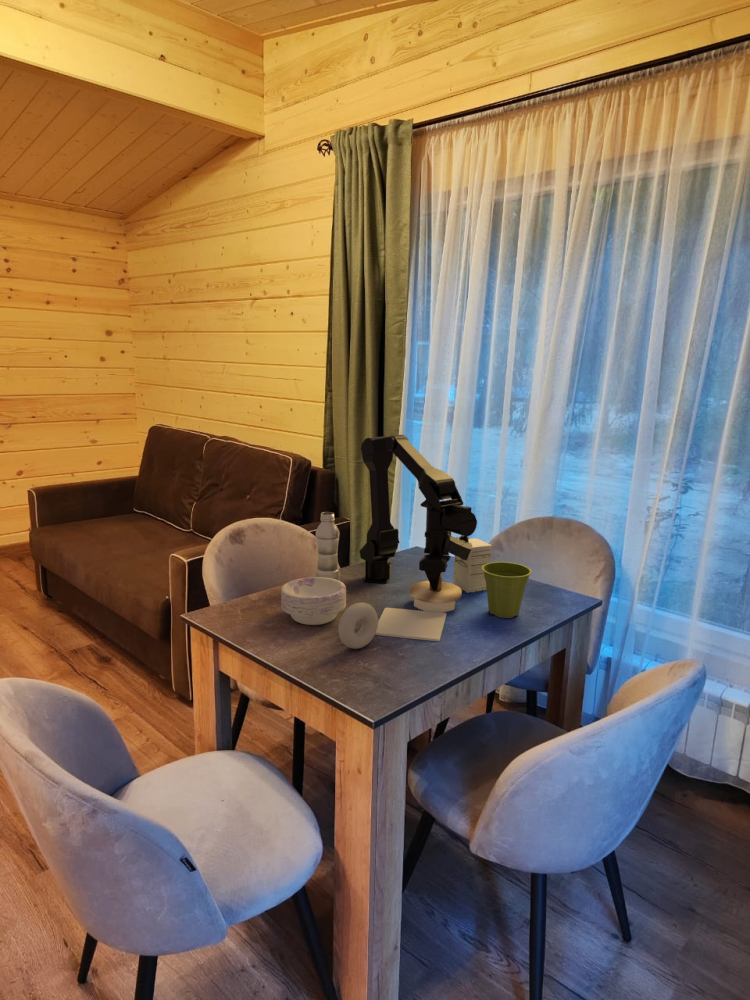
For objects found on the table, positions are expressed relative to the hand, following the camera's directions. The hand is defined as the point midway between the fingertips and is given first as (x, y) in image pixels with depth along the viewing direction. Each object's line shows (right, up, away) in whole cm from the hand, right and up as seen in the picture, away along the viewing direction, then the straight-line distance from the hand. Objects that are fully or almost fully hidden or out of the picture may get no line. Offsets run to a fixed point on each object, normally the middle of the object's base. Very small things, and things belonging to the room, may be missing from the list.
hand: (435, 587), depth 159 cm
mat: (-7, -7, -11) cm, 15 cm away
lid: (0, -1, 0) cm, 2 cm away
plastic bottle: (-28, -1, +14) cm, 31 cm away
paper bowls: (-30, -6, -8) cm, 31 cm away
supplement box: (+11, -2, +14) cm, 18 cm away
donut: (-19, -10, -23) cm, 31 cm away
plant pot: (+16, -6, -3) cm, 18 cm away
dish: (0, -4, +1) cm, 4 cm away
